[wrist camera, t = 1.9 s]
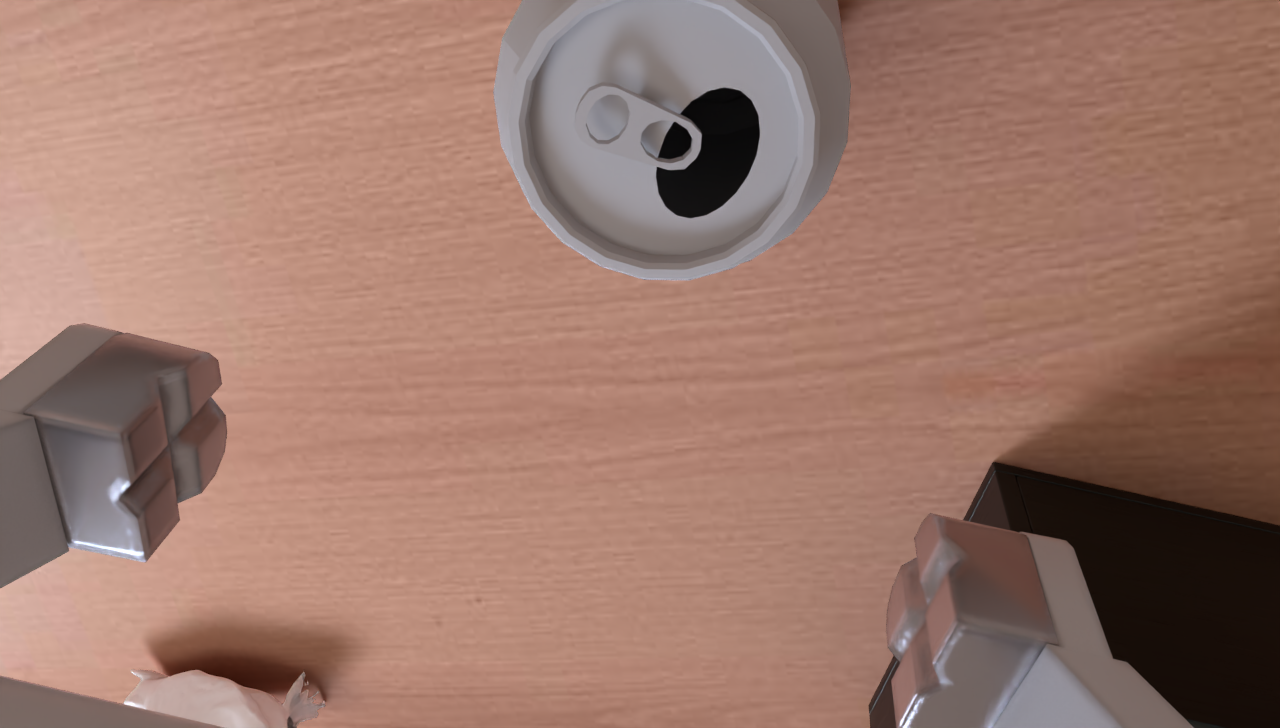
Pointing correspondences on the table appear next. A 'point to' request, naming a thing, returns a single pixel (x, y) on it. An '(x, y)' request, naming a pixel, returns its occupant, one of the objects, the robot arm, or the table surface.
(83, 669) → the table surface
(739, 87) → the can
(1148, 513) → the bin
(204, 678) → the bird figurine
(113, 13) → the table surface
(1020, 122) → the table surface
